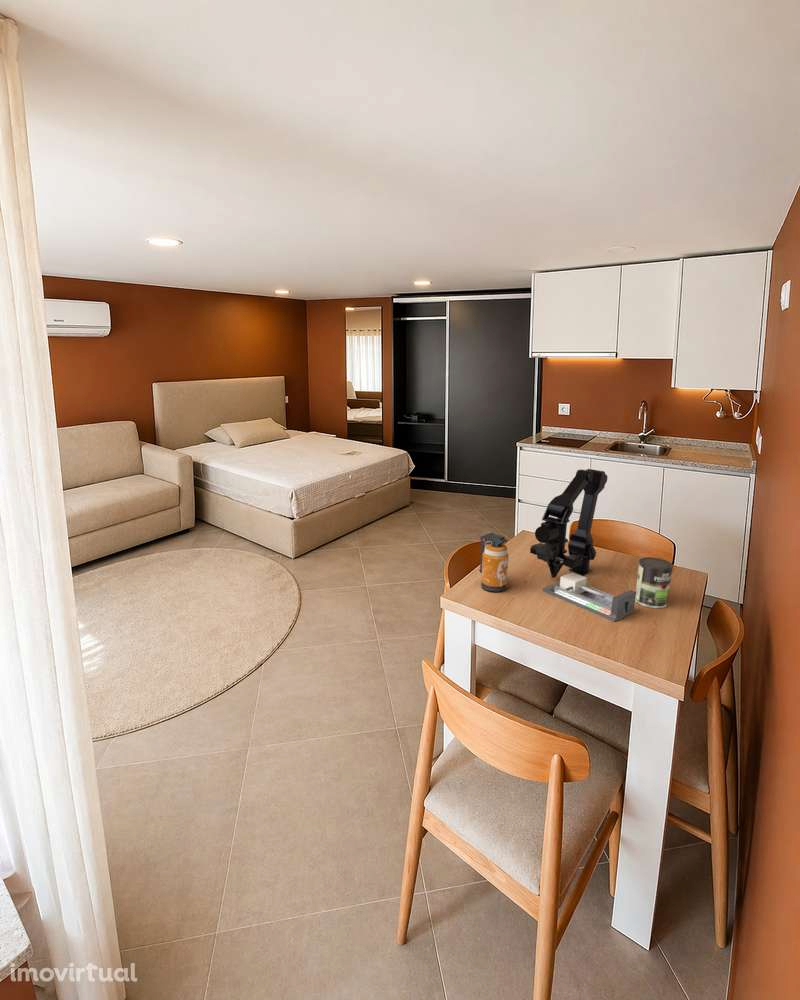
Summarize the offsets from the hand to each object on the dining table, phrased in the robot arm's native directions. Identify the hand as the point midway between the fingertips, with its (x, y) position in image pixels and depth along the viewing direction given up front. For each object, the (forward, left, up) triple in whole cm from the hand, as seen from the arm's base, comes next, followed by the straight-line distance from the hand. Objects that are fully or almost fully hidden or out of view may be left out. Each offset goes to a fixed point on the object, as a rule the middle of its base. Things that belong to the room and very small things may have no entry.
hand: (553, 577), depth 194 cm
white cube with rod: (+2, +13, -2) cm, 13 cm away
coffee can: (-17, +27, -4) cm, 32 cm away
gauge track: (0, +14, -4) cm, 15 cm away
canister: (+18, -13, -4) cm, 22 cm away
